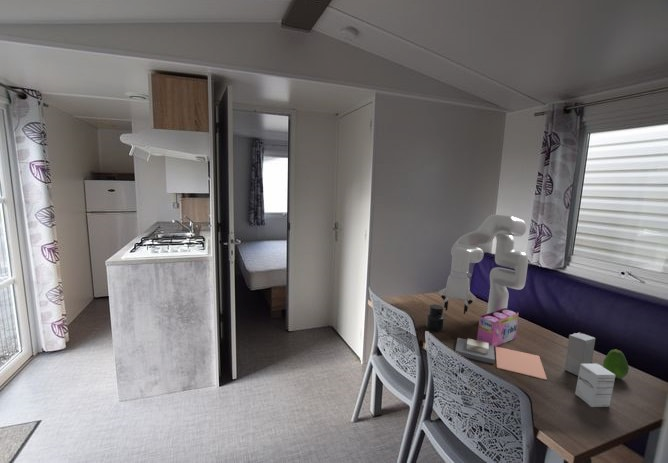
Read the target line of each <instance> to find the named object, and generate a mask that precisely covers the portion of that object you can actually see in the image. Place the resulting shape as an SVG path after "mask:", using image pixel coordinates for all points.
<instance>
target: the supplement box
mask: <svg viewBox="0 0 668 463" xmlns="http://www.w3.org/2000/svg"><path fill="white" fill-rule="evenodd" d="M615 376H616V375H615V374H613V373H612V372H610V371H609V370H607V369H605V368H604V366H603V365H601V364H599V363H593V362H592V364H580V370H579V376H577V381H576V382H577V383H576V387H575V394H574V395H576V396H577V397H578V398H580V399H581V400H582V401H584V402H585V403H586V404H587V405H588V406H589V407H591V408H602V407H603V408H604V407H606V408H607V407H608V408H609V407H610V404H611V399H612V394H613V390H614V386H615V379H616V378H615Z"/></svg>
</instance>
